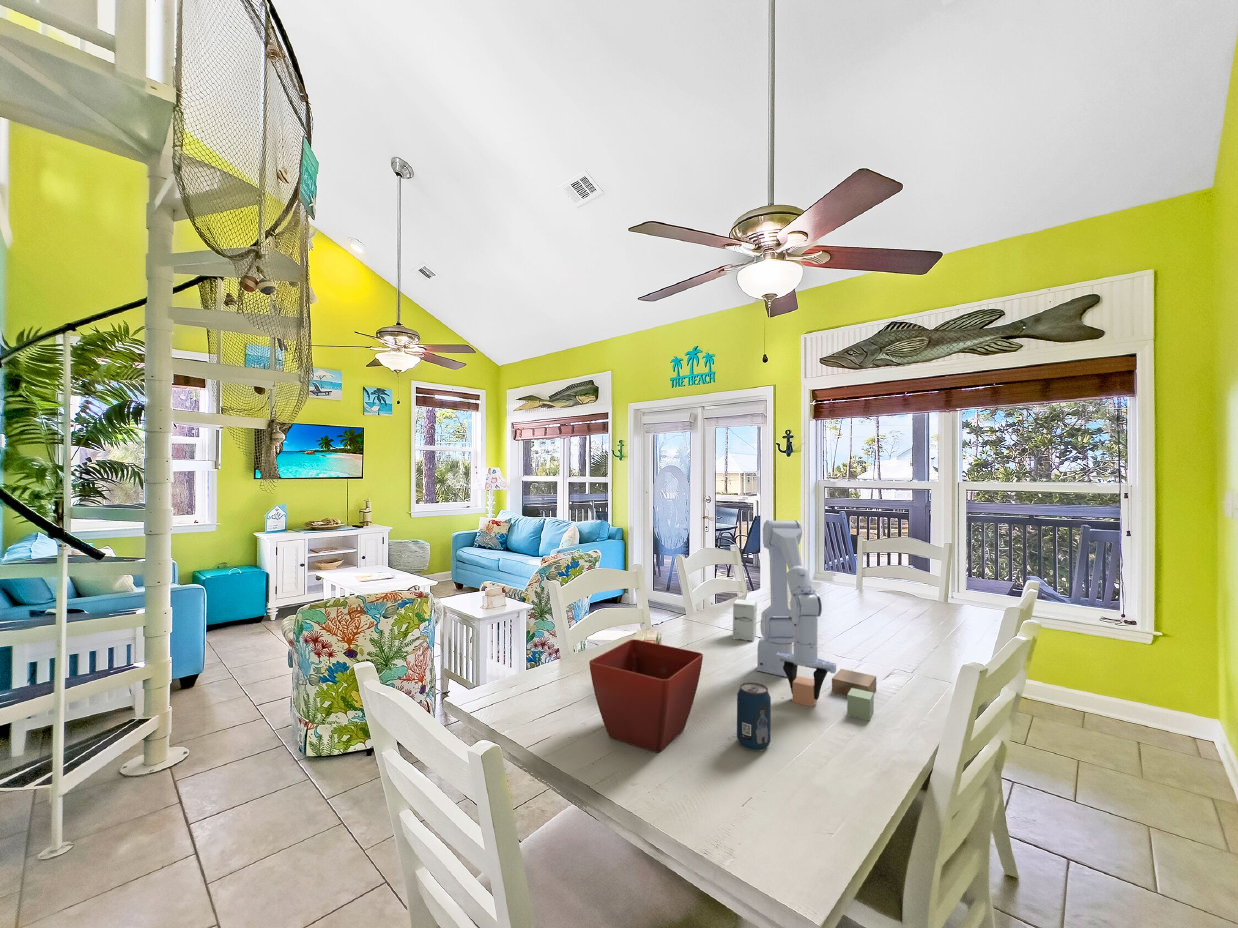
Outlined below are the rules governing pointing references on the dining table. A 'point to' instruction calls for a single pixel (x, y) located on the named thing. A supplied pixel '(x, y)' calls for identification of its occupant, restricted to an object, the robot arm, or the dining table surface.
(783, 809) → the dining table surface
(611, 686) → the plant pot
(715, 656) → the dining table surface
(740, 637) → the supplement box
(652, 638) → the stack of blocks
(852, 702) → the green cube
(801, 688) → the terracotta cube
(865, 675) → the walnut block
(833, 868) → the dining table surface
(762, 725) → the soda can
